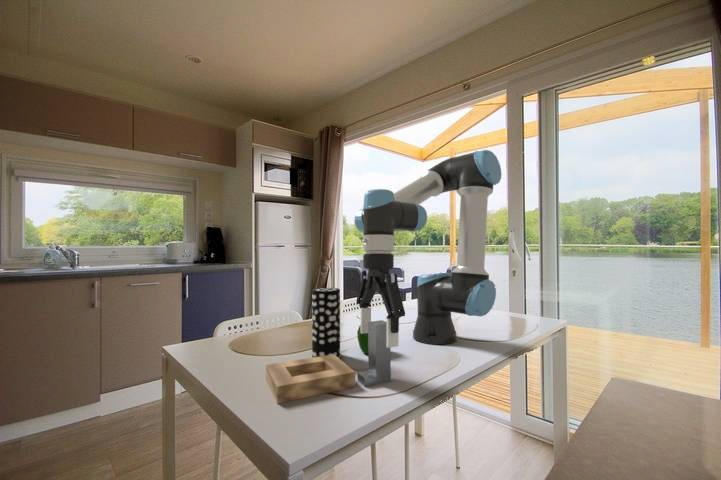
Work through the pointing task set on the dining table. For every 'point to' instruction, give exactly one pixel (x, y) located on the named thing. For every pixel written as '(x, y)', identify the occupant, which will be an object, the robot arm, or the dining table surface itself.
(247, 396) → the dining table surface
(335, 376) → the wooden rectangular frame
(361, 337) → the bell pepper
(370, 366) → the bracket
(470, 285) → the robot arm
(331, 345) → the white-spotted black cylinder
